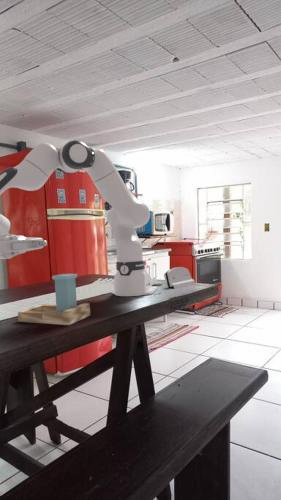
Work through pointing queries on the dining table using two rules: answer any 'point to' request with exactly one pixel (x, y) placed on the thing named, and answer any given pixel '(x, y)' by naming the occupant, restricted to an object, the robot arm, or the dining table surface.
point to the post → (65, 291)
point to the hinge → (178, 277)
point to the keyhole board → (54, 314)
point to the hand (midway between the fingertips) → (36, 244)
